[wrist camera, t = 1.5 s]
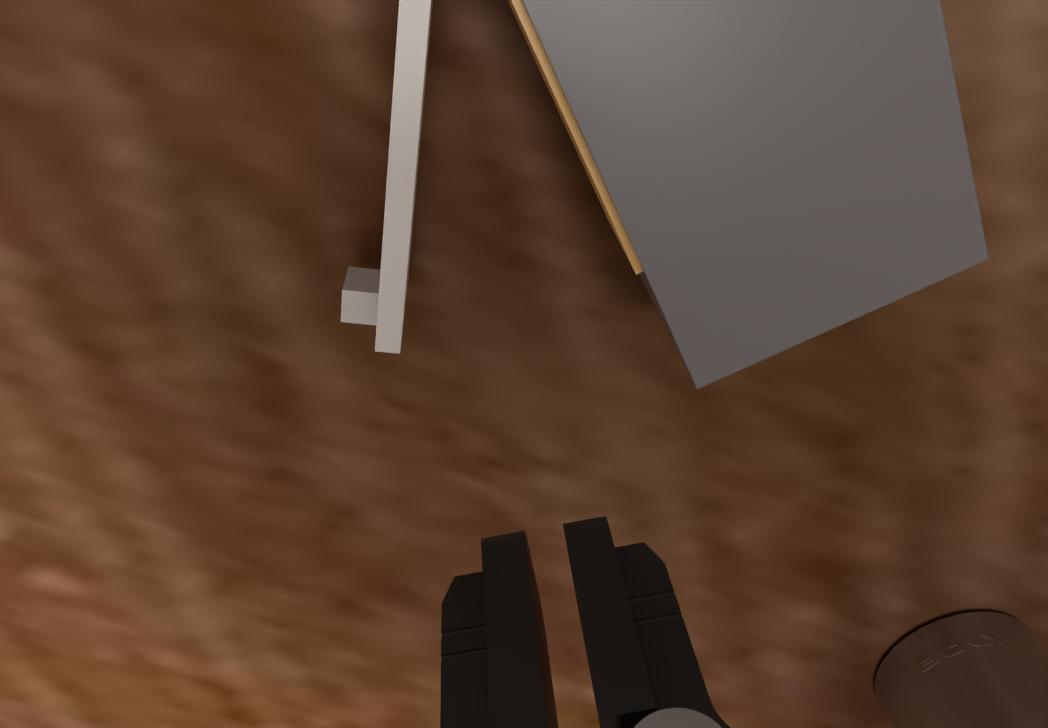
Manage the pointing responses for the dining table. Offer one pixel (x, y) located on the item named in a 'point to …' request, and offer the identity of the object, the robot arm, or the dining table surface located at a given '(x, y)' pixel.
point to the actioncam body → (765, 158)
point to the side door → (396, 188)
